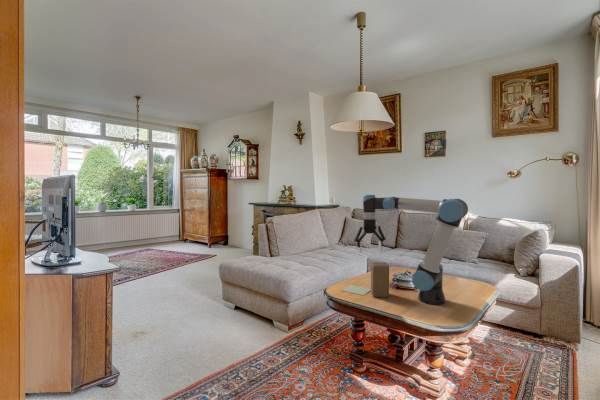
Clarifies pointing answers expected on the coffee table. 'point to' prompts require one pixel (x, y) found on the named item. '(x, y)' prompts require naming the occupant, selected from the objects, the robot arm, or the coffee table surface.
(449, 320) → the coffee table surface
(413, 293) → the coffee table surface
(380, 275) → the block
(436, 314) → the coffee table surface
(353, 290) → the mat
